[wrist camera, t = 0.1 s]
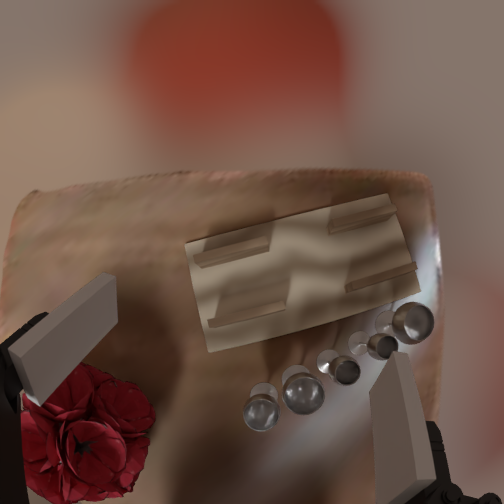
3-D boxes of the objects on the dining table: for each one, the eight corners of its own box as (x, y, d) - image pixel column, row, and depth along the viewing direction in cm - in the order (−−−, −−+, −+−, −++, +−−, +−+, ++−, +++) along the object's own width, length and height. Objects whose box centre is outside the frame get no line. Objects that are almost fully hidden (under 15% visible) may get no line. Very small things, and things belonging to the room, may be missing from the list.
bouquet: (136, 481, 49) (207, 438, 37) (53, 533, 28) (74, 535, 16) (75, 400, 55) (114, 321, 43) (-13, 435, 34) (-30, 362, 23)
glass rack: (419, 292, 48) (434, 287, 42) (209, 352, 48) (201, 355, 43) (386, 194, 52) (396, 180, 47) (185, 245, 52) (175, 235, 47)
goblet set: (259, 416, 45) (254, 445, 32) (242, 386, 47) (231, 406, 34) (409, 330, 47) (448, 329, 34) (393, 300, 48) (430, 290, 35)
